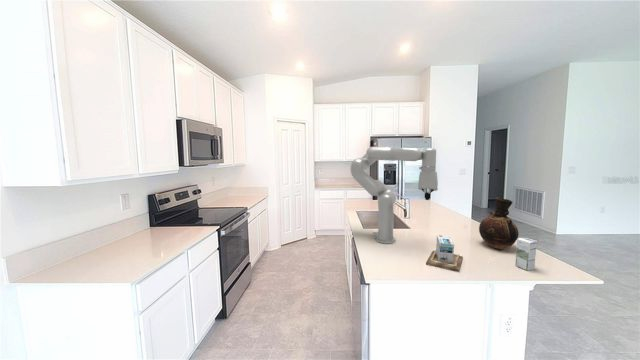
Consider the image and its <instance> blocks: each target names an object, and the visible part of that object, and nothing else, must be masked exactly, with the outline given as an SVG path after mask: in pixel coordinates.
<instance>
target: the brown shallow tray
mask: <svg viewBox="0 0 640 360" xmlns="http://www.w3.org/2000/svg"><path fill="white" fill-rule="evenodd" d="M463 259H464V256H463V255H460V254H458V253H454V254H453V264H451V263H443V262H439V260H438V257H437V254H436V249H435V250H432V251H431V253H430V255H429V257H427V260H426V262H425V264H426V266H431V267H435V268H439V269H444V270H448V271H453V272H456V273H460V270H461V267H462V262H463Z"/></svg>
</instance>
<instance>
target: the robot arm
mask: <svg viewBox="0 0 640 360" xmlns="http://www.w3.org/2000/svg"><path fill="white" fill-rule="evenodd" d="M365 152H366V153H365V154H364V155H363V156H361V157H358V158H355V159H354V160H353V161H352V163H350V174H351V176H352V178H353V179H354V180H355V181H356V182H357V183H358V184H359V185H360V186H361V187H362V188H363V189H364V190H365V192H367V193H368V194H369V195H371V196H373V197H374V196H375V197H378V199H377V208H378V209H377V210H378V214H377V215H378V217H377V218H378V224H377V225H378V226H377V229H378V230H377V232H376V231H372V236H374V237H375V241H376V242H377V243H380V244H384V245H385V244H386V245H388V244H389V245H390V244H394V243H396V238H395V237H394V217H395V216H394V215H395V213H394V212H395V211H394V204H395V202H396V200H397V199H396V198H397V196H396V194H395V192H394V191H393V190H391V189H390V188H389V187H388V186H387V185H386V184H385V183H384V182H383V181H381V180H379V179H374V178H373V177H372V176H370V174H368V173H367V172H366V171H365V170H367V169H369V167H371V166H372V165H373V164H374V163H376V162H377V161H389V162H390V161H392V162H393V161H395V162H396V161H400V162H402V161H403V162H418V161H421V166H419V169H418V170H421V171H420V172H419V175H418V182H417V183H418V188H417V189H418V190H420V191H422V192H423V193H424V200H425V201H430V199H431V194H432V192H436V191H438V190H439V189H438V172H437V171H436V169H437V168H436V167H437V165H436V163H437V149H436V148H434V147H433V148H429V147H428V148H417V147H414V148H413V147H395V146H370V147H368V148H367V149H366V151H365Z"/></svg>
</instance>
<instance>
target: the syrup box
mask: <svg viewBox="0 0 640 360" xmlns="http://www.w3.org/2000/svg"><path fill="white" fill-rule="evenodd" d="M537 244H538V241H537V240H536V239H535V240H534V239H531V238H529V237H518V238H517V240H516V253H515V264H514V265H515V267H518V268H519V269H523V270H525V271H528V272H529V271H532V270H535V268H536V255H537V247H538V246H537Z"/></svg>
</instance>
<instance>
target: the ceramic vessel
mask: <svg viewBox="0 0 640 360" xmlns="http://www.w3.org/2000/svg"><path fill="white" fill-rule="evenodd" d="M513 203H514V201H512V200H510V199H508V198H501V197H495V208H494V211H490V212H489V213H490V214H489V215H488V216H487V217H485V218H483V220H481V222H480V223H479V226H478V231H479V235H480V237H481V238H482V240H483V241H484V242H485V244H487V245H488V246H489V247H491V248H494V249H500V250H505V249H508V248H510V247H512V246H513V245H514V244H515V243H517V239H519V229H518V227H517V226H516V224H515V222H514V221H512V219H511V218H510V217H509V214H510V211H509V209H510V207H511V206H512V205H513Z"/></svg>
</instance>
